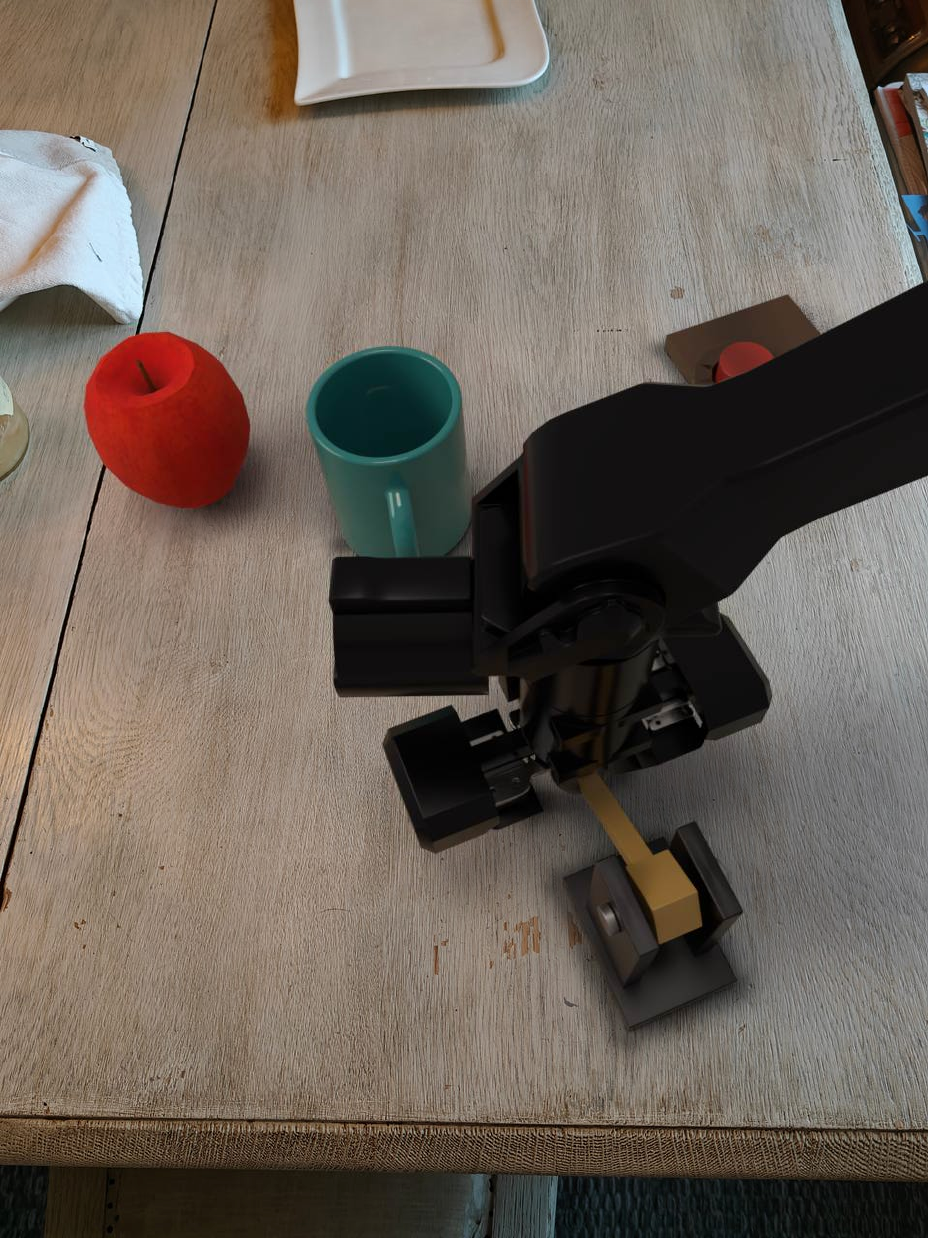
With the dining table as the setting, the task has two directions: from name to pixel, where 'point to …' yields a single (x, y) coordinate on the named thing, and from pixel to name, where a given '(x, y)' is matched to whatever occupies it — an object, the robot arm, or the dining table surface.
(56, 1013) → the dining table surface
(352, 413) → the cup
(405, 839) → the dining table surface
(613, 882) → the switch bracket
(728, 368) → the button
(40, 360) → the dining table surface
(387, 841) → the dining table surface
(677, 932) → the switch lever
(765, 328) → the button block
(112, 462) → the apple
